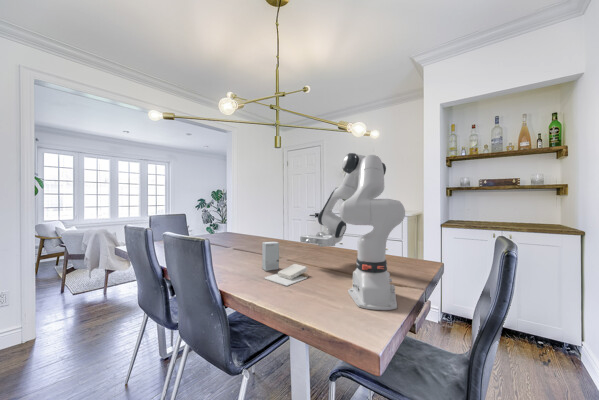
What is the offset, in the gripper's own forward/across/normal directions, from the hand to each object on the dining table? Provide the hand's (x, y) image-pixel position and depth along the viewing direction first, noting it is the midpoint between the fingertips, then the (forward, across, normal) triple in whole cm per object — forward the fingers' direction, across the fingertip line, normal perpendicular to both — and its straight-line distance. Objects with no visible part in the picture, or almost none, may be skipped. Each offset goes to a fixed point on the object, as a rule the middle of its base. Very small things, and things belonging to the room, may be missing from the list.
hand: (307, 241), depth 134 cm
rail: (+8, 0, +16) cm, 18 cm away
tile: (+5, 0, +13) cm, 14 cm away
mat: (+16, -1, +16) cm, 23 cm away
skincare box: (+10, -18, +16) cm, 26 cm away
